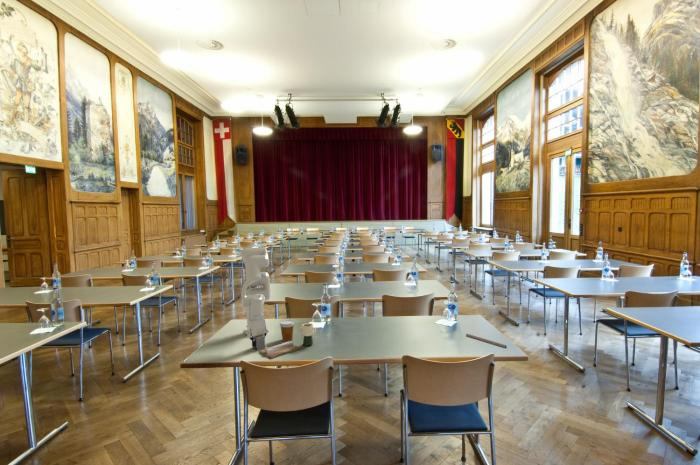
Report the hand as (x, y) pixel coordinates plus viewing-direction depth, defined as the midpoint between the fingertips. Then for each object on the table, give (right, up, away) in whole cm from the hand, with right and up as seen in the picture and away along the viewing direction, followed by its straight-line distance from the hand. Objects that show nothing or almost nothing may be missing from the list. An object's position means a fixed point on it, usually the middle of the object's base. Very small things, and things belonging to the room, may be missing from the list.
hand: (258, 345), depth 227 cm
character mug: (+31, -1, +5) cm, 31 cm away
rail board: (+14, -2, -4) cm, 15 cm away
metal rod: (+144, 0, +5) cm, 144 cm away
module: (0, -2, 0) cm, 2 cm away
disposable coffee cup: (+16, -1, +14) cm, 21 cm away
